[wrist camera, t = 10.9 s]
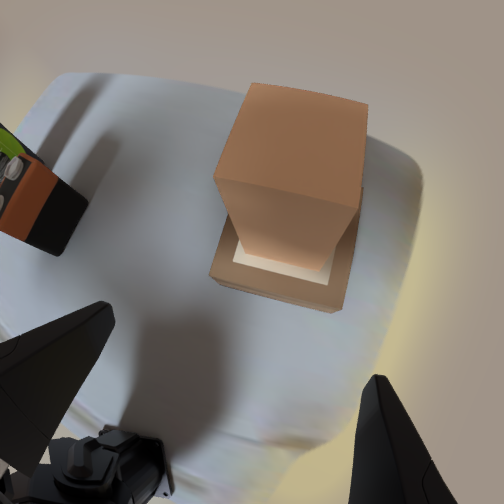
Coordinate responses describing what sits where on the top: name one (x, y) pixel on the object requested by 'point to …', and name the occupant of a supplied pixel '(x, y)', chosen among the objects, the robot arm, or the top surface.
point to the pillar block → (293, 172)
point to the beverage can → (11, 150)
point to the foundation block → (287, 272)
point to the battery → (38, 205)
